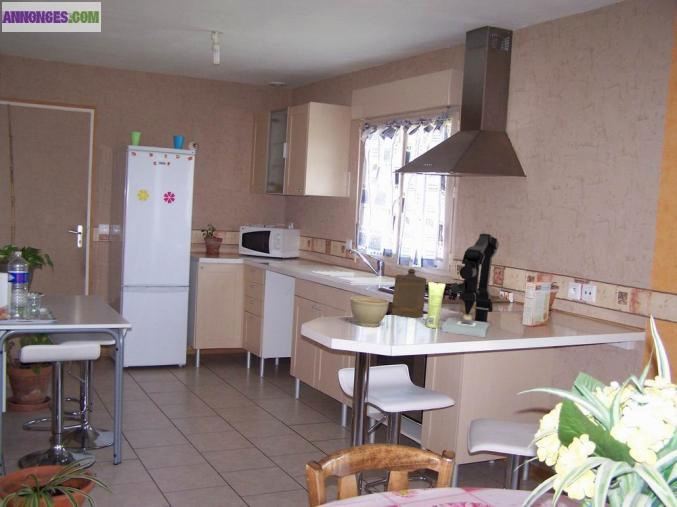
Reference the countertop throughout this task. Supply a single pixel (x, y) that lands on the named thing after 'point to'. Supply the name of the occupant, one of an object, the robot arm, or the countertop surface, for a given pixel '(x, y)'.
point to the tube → (434, 303)
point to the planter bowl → (368, 310)
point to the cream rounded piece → (469, 316)
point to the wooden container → (409, 295)
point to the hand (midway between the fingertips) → (467, 313)
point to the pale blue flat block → (465, 327)
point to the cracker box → (536, 303)
